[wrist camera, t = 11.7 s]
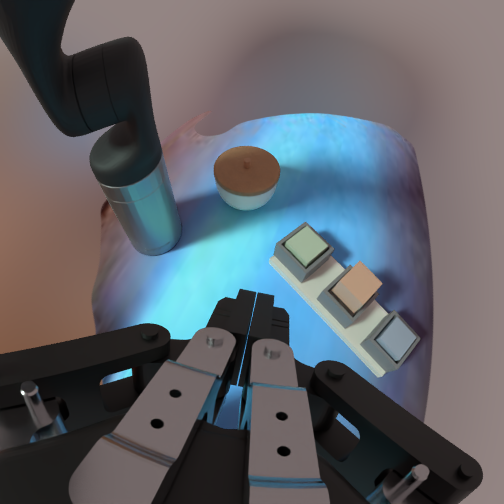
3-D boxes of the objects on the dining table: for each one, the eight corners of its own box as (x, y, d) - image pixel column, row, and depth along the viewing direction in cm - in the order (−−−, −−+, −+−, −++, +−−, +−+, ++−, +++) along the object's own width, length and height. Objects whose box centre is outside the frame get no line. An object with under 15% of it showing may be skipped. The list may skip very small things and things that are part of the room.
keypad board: (268, 262, 47) (271, 246, 43) (303, 235, 50) (309, 218, 45) (378, 377, 39) (393, 374, 34) (407, 341, 41) (423, 334, 37)
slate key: (369, 343, 39) (379, 338, 36) (386, 323, 40) (397, 316, 37) (388, 363, 37) (399, 359, 34) (404, 342, 39) (416, 337, 36)
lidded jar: (255, 168, 57) (258, 131, 48) (286, 206, 52) (295, 170, 44) (206, 188, 54) (201, 151, 45) (234, 231, 50) (233, 195, 41)
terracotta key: (331, 290, 39) (339, 280, 36) (351, 271, 41) (360, 260, 38) (353, 313, 38) (363, 304, 35) (372, 292, 39) (382, 283, 36)
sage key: (282, 253, 45) (286, 241, 42) (302, 237, 47) (307, 225, 44) (302, 273, 44) (307, 263, 41) (322, 256, 45) (328, 245, 42)
